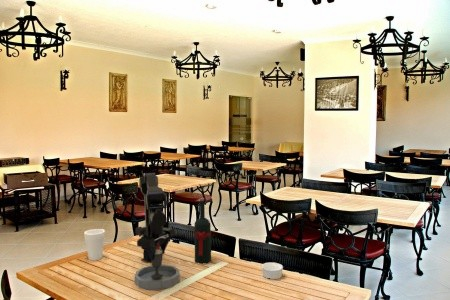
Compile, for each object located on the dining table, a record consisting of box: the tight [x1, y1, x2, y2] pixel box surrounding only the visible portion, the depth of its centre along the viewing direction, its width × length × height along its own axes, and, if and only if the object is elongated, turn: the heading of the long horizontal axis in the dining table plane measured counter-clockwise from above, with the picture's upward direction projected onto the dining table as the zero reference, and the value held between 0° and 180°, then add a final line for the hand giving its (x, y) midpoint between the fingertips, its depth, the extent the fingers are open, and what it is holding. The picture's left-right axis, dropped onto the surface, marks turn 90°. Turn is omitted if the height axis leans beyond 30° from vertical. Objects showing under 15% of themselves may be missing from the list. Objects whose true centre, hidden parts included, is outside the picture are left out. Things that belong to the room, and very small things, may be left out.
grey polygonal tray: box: [134, 263, 181, 291], centre depth 160 cm, size 18×18×3 cm
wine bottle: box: [193, 197, 212, 265], centre depth 180 cm, size 8×10×30 cm
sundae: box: [150, 241, 166, 278], centre depth 160 cm, size 7×7×15 cm
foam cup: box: [83, 228, 106, 261], centre depth 187 cm, size 10×9×13 cm
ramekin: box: [261, 262, 284, 280], centre depth 164 cm, size 9×9×4 cm
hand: (156, 257), depth 160 cm, fingers closed on sundae, 6 cm apart
